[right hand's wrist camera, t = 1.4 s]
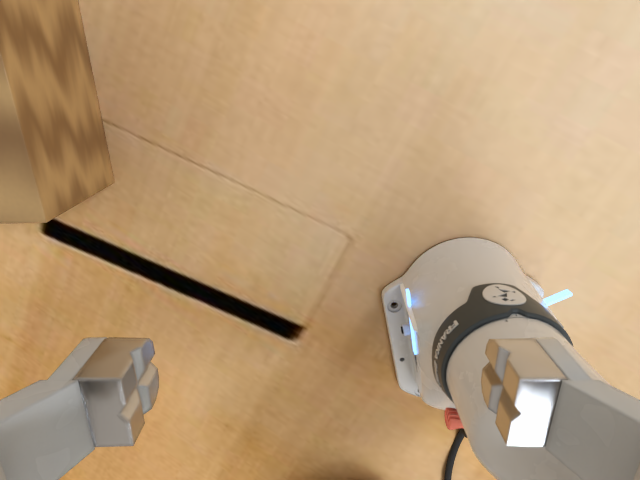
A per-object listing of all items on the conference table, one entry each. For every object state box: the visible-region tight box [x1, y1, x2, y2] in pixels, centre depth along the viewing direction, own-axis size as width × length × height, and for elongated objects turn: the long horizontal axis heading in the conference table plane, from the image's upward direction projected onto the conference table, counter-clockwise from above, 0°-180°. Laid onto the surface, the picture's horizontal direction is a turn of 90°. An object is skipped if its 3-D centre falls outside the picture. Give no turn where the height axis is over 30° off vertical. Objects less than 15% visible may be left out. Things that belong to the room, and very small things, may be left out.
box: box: [0, 0, 114, 223], centre depth 36 cm, size 26×6×13 cm, turn 1°
